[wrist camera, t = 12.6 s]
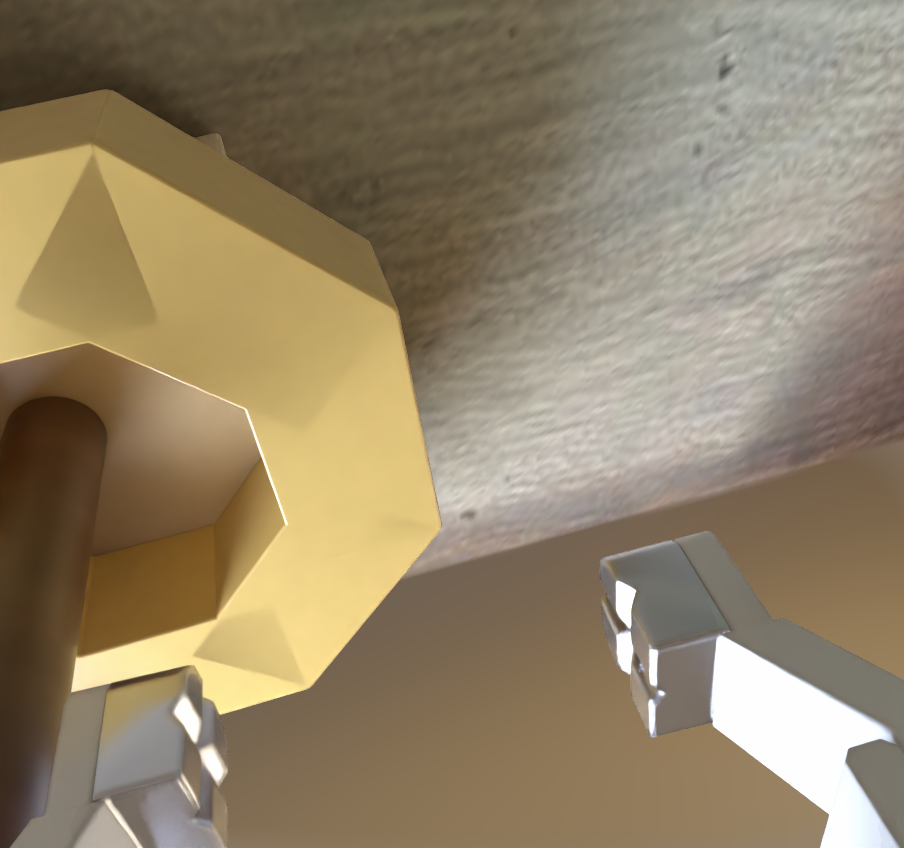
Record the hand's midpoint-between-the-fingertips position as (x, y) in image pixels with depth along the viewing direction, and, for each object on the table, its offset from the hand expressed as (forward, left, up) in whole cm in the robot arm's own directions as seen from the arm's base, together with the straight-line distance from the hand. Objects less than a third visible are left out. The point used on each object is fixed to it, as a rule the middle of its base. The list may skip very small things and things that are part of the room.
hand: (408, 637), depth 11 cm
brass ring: (+5, 0, -7) cm, 9 cm away
